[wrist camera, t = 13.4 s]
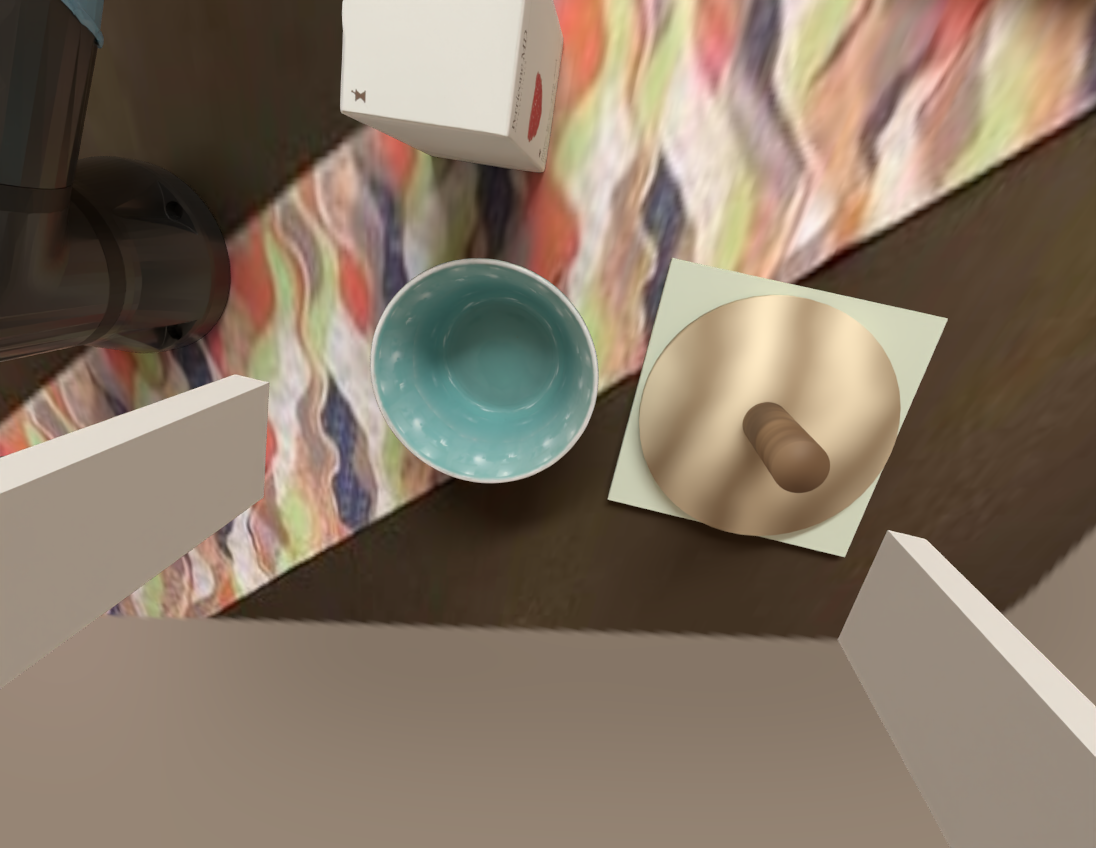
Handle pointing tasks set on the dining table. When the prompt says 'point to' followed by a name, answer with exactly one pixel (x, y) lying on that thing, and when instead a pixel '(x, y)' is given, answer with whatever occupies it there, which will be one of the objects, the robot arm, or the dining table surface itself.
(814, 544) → the mat
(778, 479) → the lid
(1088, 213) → the dining table surface
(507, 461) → the bowl
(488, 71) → the supplement box
